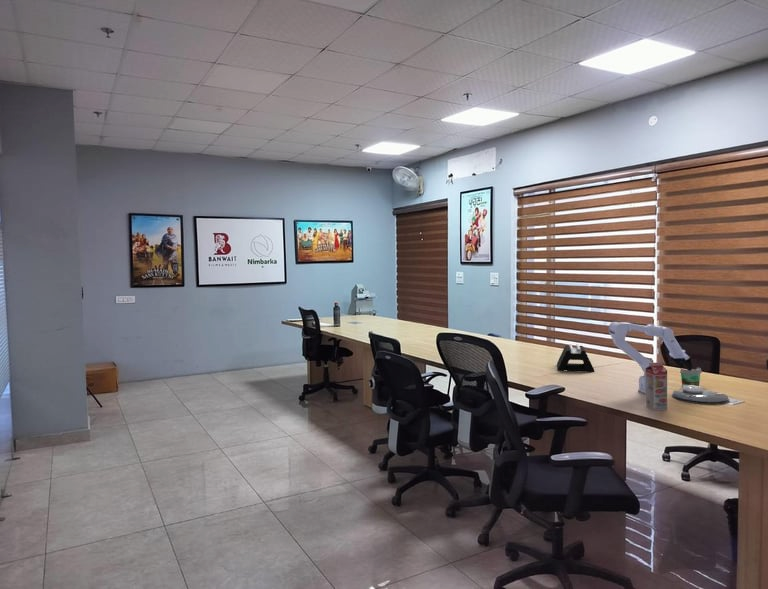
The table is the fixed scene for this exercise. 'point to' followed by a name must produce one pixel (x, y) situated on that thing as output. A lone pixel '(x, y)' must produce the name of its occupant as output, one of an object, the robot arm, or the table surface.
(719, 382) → the table surface
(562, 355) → the device stand
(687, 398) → the turntable
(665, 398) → the juice carton
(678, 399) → the turntable base
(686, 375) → the food container
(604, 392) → the table surface
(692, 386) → the cover
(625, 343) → the robot arm
